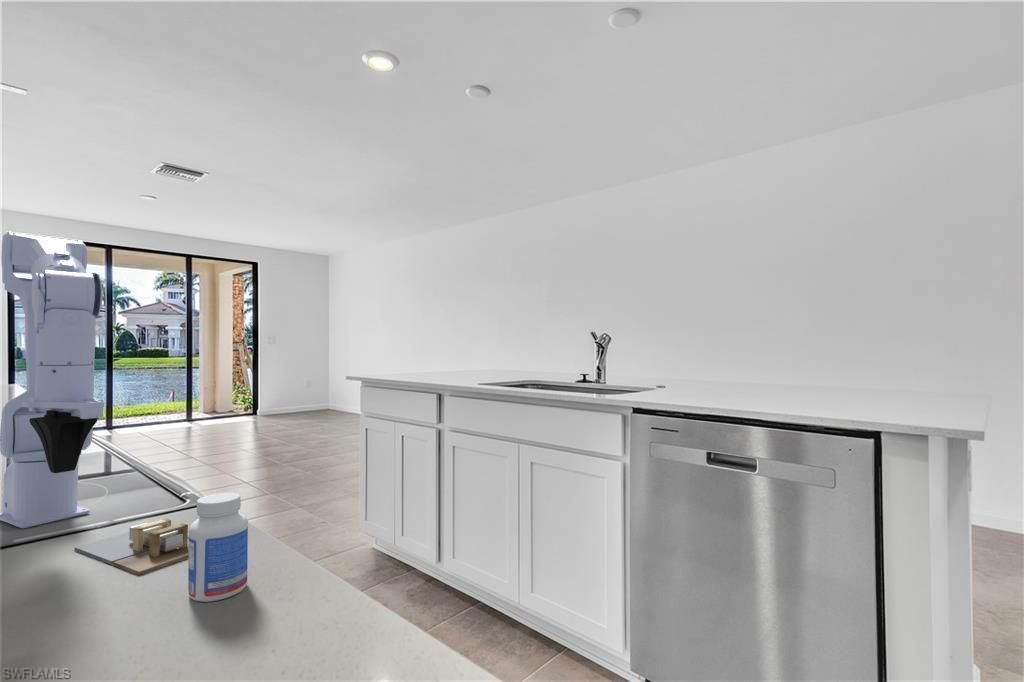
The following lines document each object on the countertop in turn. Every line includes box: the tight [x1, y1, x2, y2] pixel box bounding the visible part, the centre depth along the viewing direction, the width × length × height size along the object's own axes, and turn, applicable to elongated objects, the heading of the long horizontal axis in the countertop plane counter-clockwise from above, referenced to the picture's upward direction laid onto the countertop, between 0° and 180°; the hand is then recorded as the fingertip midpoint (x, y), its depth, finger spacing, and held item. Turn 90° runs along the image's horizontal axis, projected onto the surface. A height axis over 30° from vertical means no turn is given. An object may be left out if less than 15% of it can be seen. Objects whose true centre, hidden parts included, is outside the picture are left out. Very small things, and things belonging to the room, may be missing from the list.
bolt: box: [129, 522, 183, 552], centre depth 64 cm, size 8×2×2 cm, turn 63°
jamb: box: [112, 522, 189, 576], centre depth 63 cm, size 5×10×3 cm, turn 153°
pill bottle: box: [187, 492, 249, 603], centre depth 54 cm, size 6×5×10 cm
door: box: [73, 518, 189, 565], centre depth 66 cm, size 9×10×3 cm
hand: (62, 471), depth 65 cm, fingers closed
